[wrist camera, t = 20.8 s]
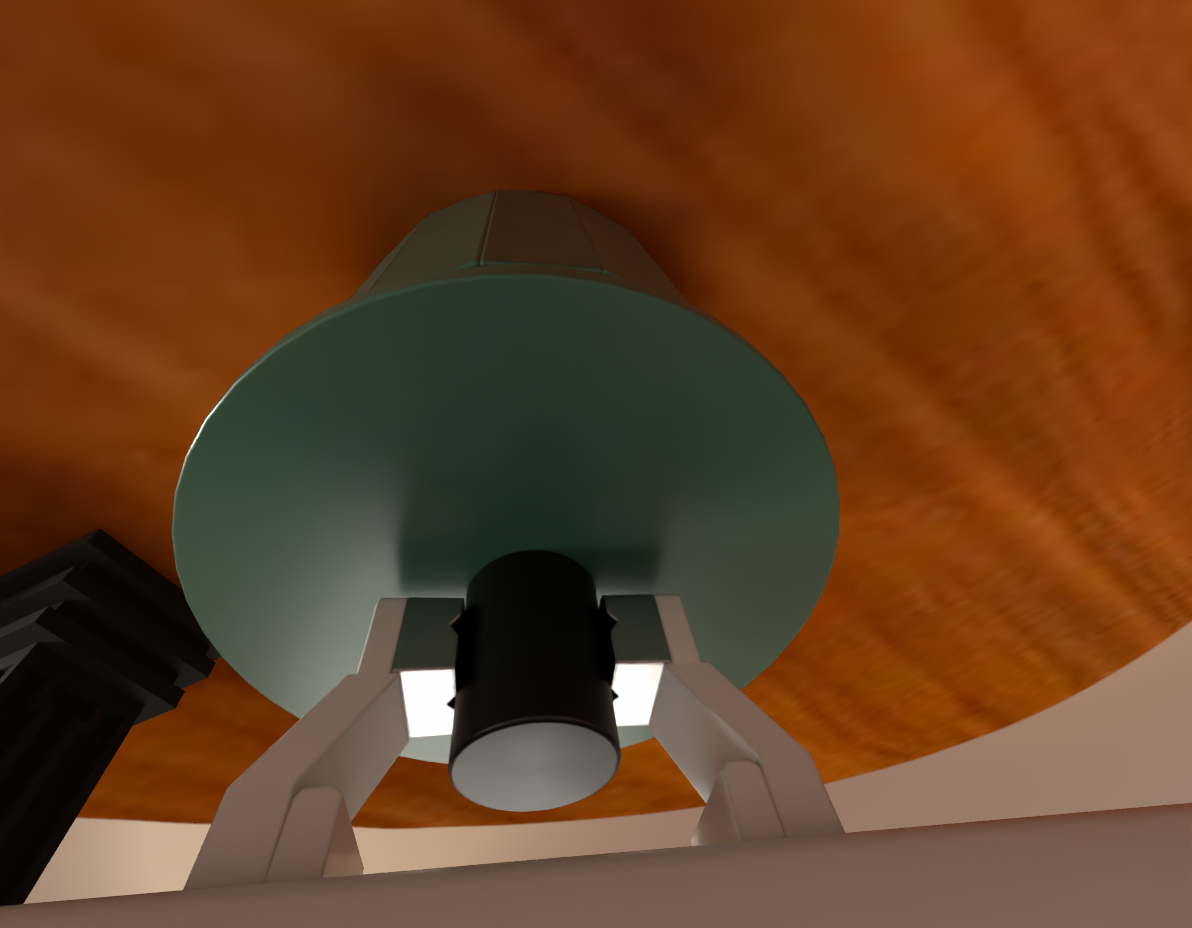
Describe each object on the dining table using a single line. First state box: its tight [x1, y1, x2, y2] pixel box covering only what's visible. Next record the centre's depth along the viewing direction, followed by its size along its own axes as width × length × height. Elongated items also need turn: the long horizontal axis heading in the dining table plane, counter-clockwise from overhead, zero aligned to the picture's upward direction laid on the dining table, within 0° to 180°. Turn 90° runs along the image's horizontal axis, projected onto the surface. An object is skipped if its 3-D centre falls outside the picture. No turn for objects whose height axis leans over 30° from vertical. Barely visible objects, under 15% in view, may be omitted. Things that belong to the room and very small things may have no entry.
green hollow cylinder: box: [351, 190, 689, 303], centre depth 17 cm, size 12×12×10 cm
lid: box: [172, 265, 840, 812], centre depth 10 cm, size 13×13×5 cm
